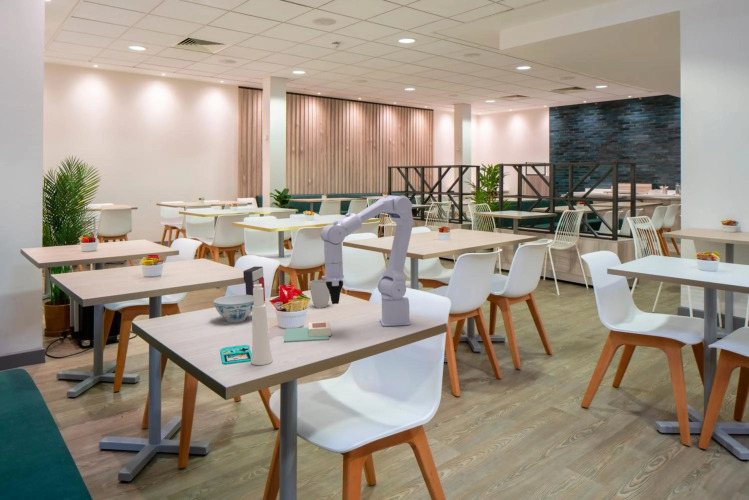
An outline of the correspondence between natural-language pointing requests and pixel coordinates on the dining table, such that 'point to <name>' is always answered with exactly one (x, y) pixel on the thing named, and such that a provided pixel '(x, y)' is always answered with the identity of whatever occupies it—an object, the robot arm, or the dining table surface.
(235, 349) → the handheld gaming console
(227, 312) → the chinaware
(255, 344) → the cosmetic bottle
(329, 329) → the card box
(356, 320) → the dining table surface
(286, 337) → the mat
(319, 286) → the cup
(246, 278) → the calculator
